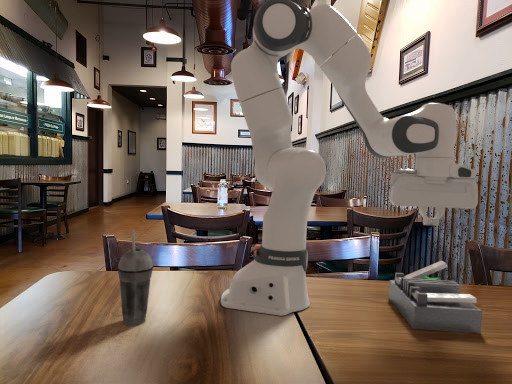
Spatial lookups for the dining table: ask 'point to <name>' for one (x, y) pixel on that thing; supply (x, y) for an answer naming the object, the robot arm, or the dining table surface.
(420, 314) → the heatsink block
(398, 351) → the dining table surface
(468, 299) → the strap near
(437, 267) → the strap far
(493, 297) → the dining table surface
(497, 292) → the dining table surface
